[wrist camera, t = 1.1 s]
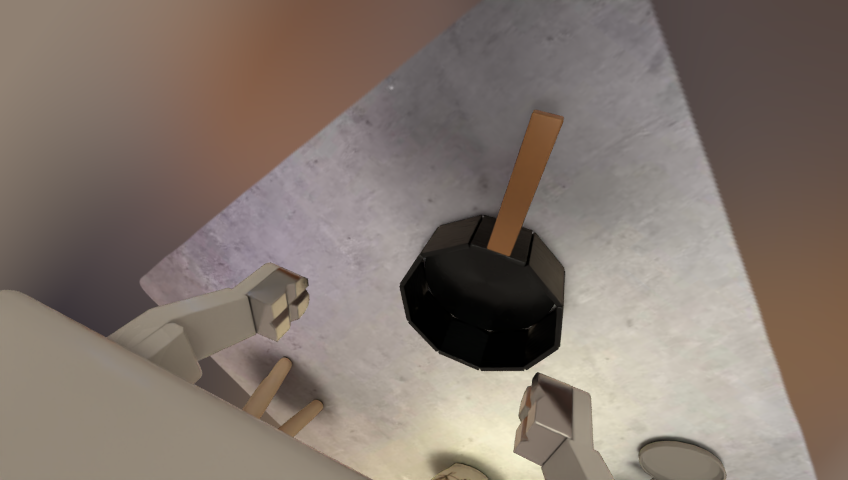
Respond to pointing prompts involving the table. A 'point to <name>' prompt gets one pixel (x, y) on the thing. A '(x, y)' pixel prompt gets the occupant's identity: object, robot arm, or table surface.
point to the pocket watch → (680, 462)
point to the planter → (267, 392)
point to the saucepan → (493, 276)
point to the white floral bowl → (460, 473)
